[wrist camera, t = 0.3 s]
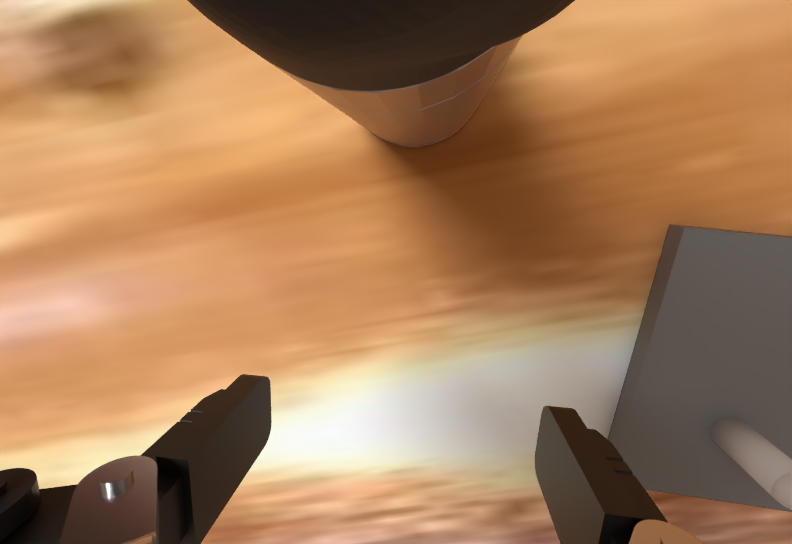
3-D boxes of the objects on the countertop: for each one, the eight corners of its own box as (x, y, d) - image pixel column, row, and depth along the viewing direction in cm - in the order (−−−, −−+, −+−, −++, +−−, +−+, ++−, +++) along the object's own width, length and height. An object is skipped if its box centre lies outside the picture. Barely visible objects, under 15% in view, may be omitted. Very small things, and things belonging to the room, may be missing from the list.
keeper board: (669, 224, 25) (770, 245, 17) (898, 247, 24) (1110, 280, 16) (599, 468, 30) (653, 565, 22) (783, 496, 29) (903, 607, 21)
